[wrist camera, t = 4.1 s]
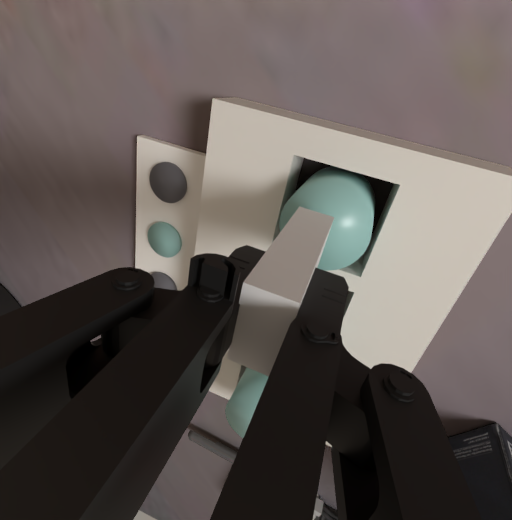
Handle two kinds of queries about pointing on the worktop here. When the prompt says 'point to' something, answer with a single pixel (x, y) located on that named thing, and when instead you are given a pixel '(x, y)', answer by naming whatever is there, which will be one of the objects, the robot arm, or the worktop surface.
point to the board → (385, 234)
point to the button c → (337, 213)
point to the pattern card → (167, 209)
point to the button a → (245, 400)
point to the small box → (487, 469)
